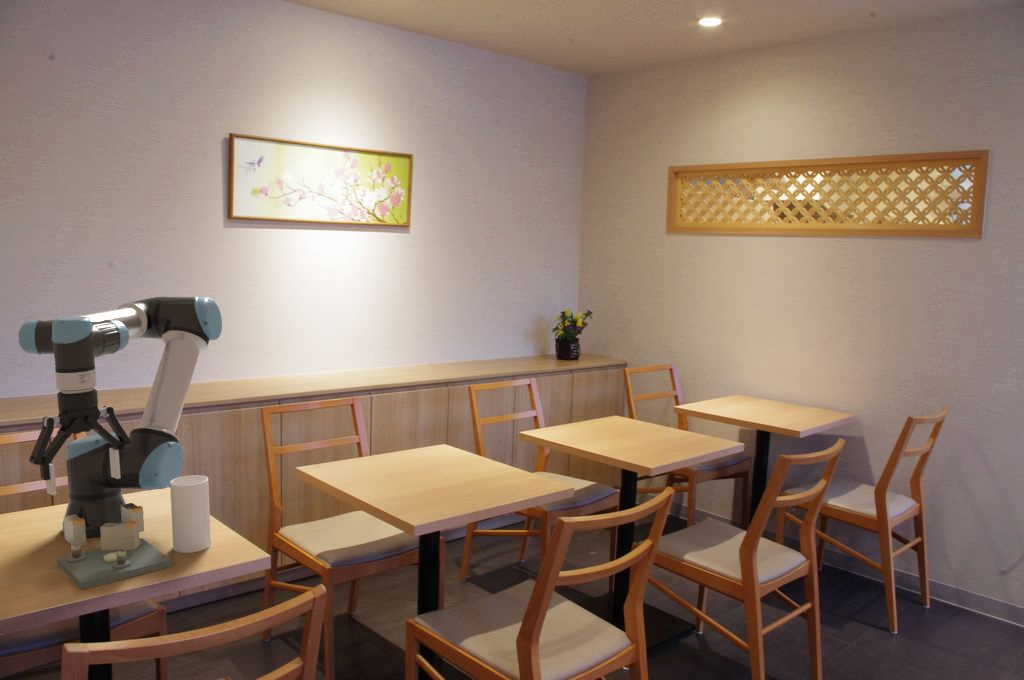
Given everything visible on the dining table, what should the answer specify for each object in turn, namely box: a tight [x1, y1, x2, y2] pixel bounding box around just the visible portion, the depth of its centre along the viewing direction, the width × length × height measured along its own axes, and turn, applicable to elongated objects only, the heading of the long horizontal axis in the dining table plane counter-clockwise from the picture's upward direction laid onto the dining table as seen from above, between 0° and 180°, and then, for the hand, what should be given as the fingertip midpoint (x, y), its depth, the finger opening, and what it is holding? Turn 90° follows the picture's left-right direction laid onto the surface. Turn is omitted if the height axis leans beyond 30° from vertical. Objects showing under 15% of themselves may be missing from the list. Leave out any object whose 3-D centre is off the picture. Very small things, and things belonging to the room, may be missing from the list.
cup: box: [169, 474, 212, 554], centre depth 186 cm, size 8×8×16 cm
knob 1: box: [100, 521, 140, 564], centre depth 171 cm, size 7×2×9 cm, turn 91°
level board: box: [56, 537, 173, 591], centre depth 175 cm, size 18×18×2 cm
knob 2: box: [121, 502, 145, 533], centre depth 182 cm, size 7×2×9 cm, turn 45°
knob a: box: [63, 515, 87, 557], centre depth 174 cm, size 7×2×9 cm, turn 44°
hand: (84, 485), depth 173 cm, fingers open, 13 cm apart
